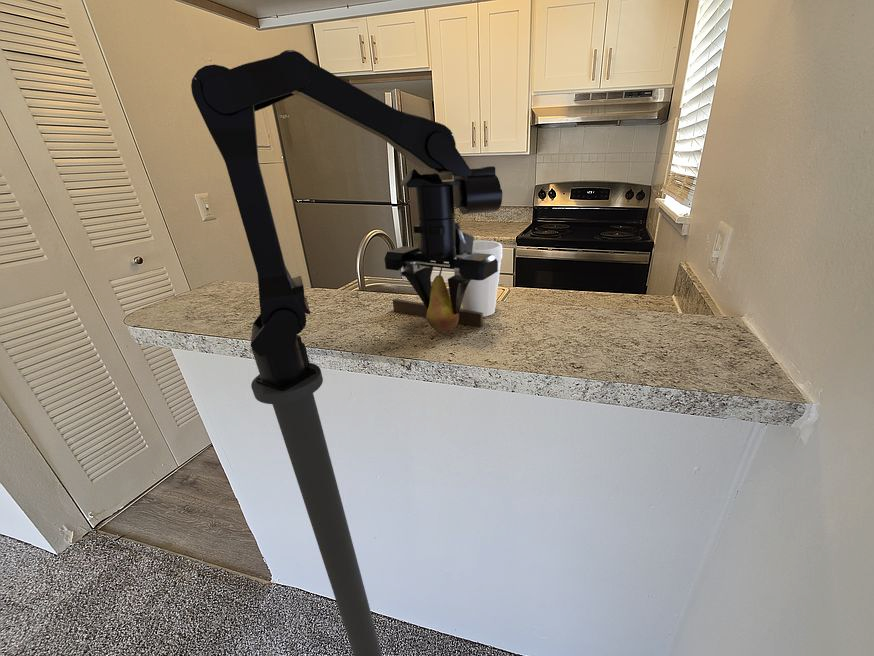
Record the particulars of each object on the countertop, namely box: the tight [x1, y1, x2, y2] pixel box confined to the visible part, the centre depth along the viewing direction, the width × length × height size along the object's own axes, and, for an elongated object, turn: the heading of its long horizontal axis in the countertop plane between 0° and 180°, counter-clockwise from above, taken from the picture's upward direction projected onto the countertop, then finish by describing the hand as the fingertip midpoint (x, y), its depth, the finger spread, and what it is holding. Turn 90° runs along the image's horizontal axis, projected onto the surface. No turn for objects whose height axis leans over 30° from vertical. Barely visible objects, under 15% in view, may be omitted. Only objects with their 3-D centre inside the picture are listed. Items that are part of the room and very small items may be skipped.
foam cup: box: [457, 239, 503, 318], centre depth 78 cm, size 10×9×13 cm
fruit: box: [425, 262, 459, 333], centre depth 69 cm, size 6×6×12 cm
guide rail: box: [392, 298, 484, 328], centre depth 78 cm, size 1×20×2 cm, turn 63°
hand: (443, 311), depth 70 cm, fingers closed on fruit, 5 cm apart
